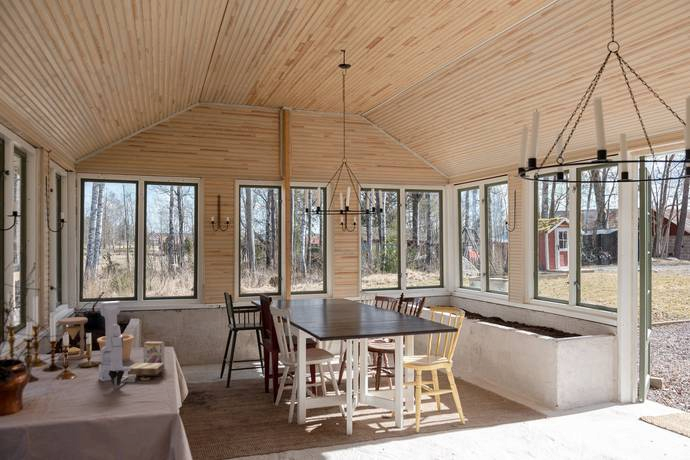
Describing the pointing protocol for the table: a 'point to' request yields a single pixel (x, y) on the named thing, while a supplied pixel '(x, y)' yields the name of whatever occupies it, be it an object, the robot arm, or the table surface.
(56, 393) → the table surface
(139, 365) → the tan cardboard box
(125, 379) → the grey t-shaped piece
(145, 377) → the brass disc
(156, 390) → the table surface
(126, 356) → the pottery
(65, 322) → the hourglass
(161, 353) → the candy bar box
